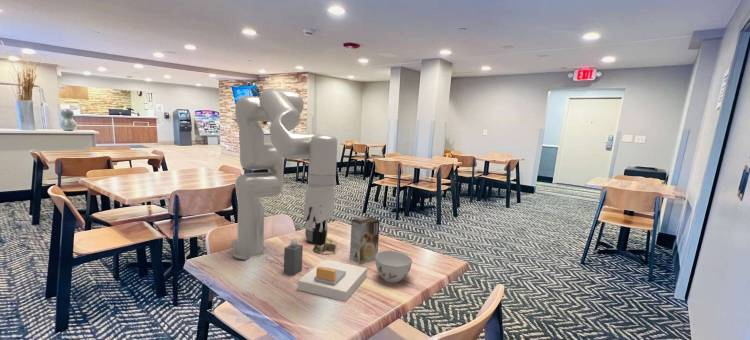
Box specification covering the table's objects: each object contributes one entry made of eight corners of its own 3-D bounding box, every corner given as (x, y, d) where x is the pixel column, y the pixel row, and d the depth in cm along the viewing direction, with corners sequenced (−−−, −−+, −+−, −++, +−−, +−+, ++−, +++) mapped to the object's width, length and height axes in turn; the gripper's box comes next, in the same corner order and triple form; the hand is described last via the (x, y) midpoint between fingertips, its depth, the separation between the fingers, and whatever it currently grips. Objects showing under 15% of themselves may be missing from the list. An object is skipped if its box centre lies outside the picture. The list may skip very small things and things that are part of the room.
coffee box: (367, 254, 132) (369, 215, 130) (377, 260, 127) (380, 220, 125) (348, 259, 126) (351, 218, 124) (359, 265, 121) (361, 223, 119)
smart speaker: (303, 243, 139) (304, 211, 137) (307, 236, 148) (308, 206, 146) (325, 244, 139) (326, 212, 138) (328, 237, 148) (329, 207, 147)
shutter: (313, 280, 100) (314, 268, 100) (326, 269, 108) (327, 258, 108) (334, 284, 98) (335, 272, 97) (345, 273, 106) (346, 262, 105)
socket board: (297, 289, 100) (297, 280, 100) (324, 267, 117) (325, 259, 117) (345, 301, 95) (346, 291, 95) (366, 276, 112) (367, 268, 112)
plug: (283, 273, 110) (284, 241, 109) (291, 267, 115) (293, 236, 114) (293, 275, 109) (295, 243, 108) (301, 270, 114) (303, 238, 112)
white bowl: (396, 292, 103) (398, 268, 102) (366, 279, 110) (367, 256, 109) (421, 277, 114) (423, 255, 113) (392, 266, 122) (393, 245, 121)
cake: (309, 248, 135) (309, 235, 134) (330, 244, 141) (331, 232, 140) (319, 256, 127) (320, 243, 126) (342, 252, 133) (342, 239, 132)
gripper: (322, 175, 99) (319, 234, 101) (295, 182, 84) (292, 250, 87) (345, 178, 96) (341, 238, 99) (321, 185, 82) (317, 255, 84)
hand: (318, 243), depth 93 cm, fingers closed
